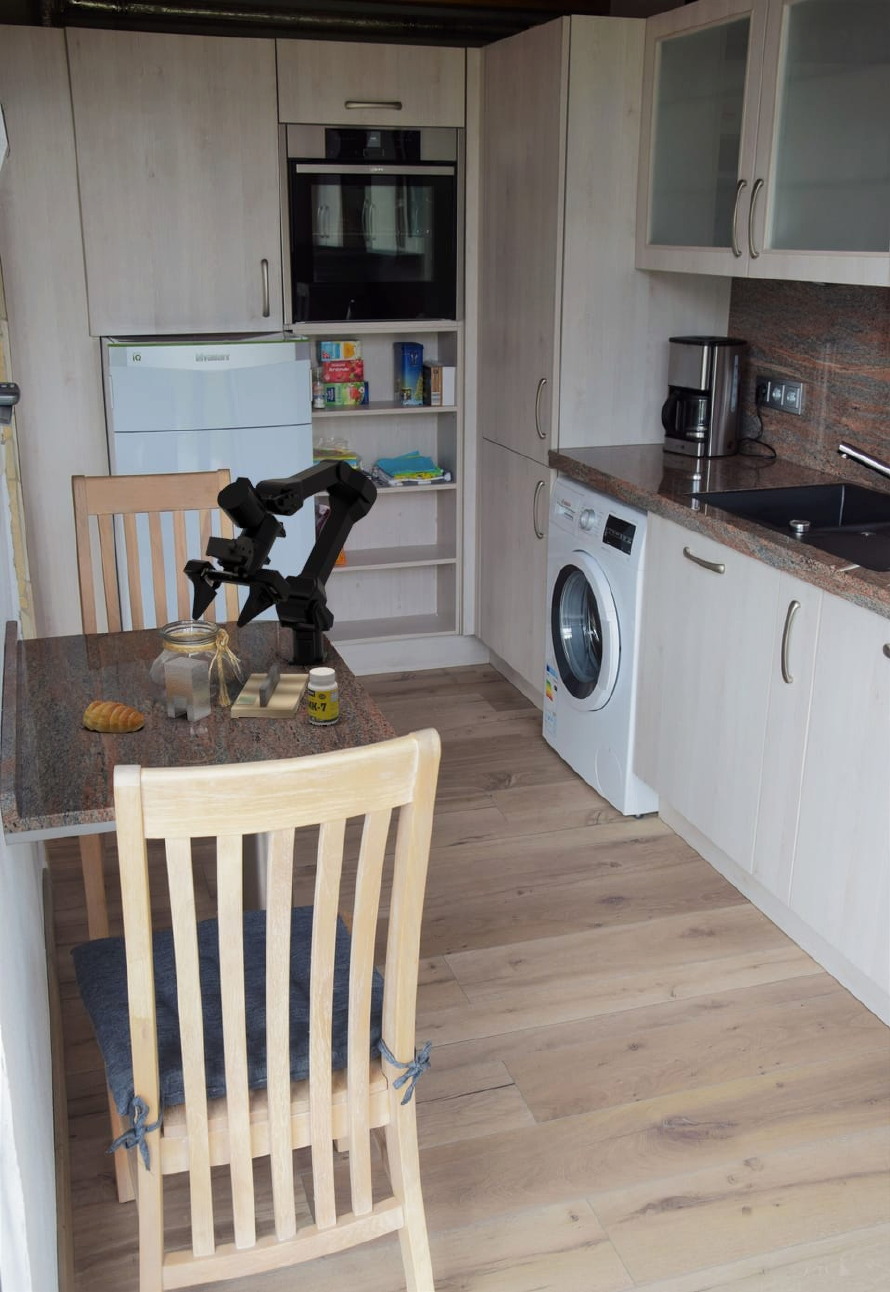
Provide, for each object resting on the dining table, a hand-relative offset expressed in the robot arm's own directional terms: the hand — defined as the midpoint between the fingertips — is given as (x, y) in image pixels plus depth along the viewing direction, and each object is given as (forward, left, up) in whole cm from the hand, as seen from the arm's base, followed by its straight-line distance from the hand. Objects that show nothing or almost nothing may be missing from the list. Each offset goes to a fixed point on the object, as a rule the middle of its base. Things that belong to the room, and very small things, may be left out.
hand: (216, 623), depth 194 cm
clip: (+7, -4, -13) cm, 16 cm away
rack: (-1, +8, -13) cm, 16 cm away
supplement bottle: (+9, +18, -14) cm, 25 cm away
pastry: (+12, -15, -14) cm, 23 cm away
